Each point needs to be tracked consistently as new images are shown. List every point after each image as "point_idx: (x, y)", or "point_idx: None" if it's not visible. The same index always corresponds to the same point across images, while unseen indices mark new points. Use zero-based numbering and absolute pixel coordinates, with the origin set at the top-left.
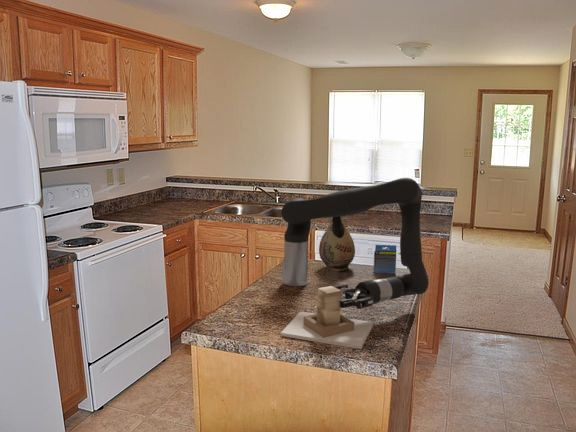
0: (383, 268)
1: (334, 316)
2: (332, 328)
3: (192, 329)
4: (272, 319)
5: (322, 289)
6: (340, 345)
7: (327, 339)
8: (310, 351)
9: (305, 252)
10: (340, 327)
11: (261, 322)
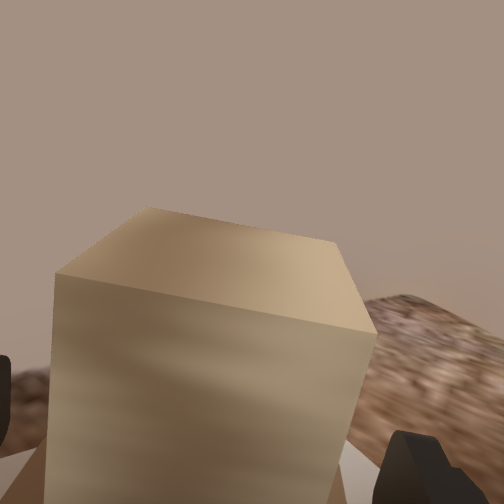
0: None
1: None
2: (17, 481)
3: (423, 300)
4: (494, 474)
5: (275, 238)
6: None
7: (16, 464)
8: (46, 373)
9: None
10: None
11: (453, 420)
